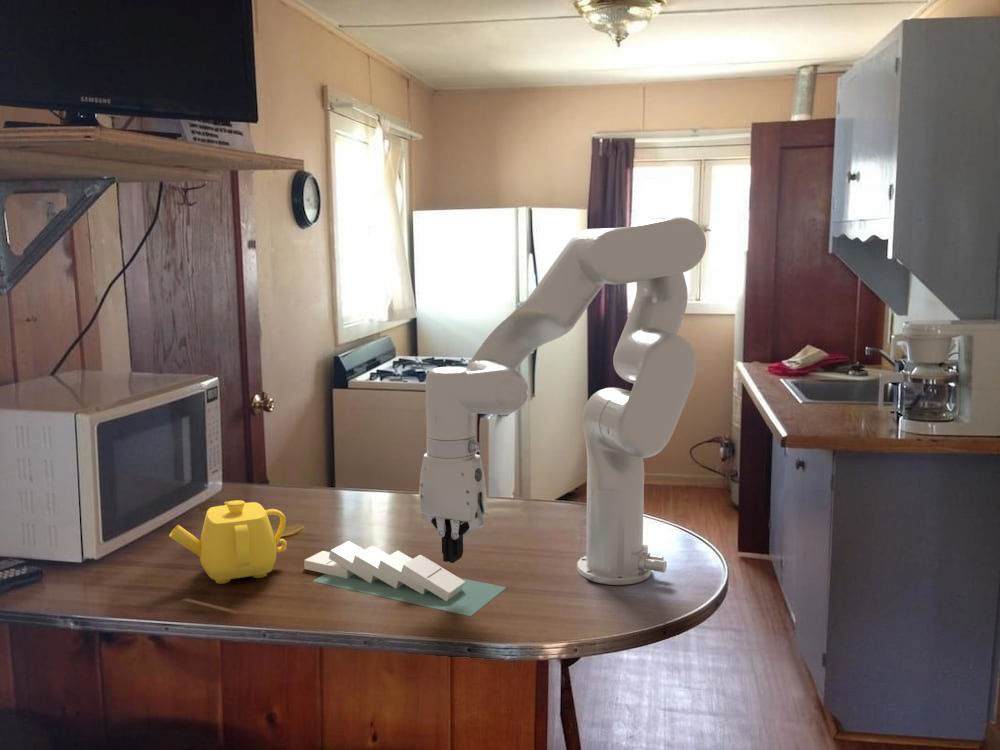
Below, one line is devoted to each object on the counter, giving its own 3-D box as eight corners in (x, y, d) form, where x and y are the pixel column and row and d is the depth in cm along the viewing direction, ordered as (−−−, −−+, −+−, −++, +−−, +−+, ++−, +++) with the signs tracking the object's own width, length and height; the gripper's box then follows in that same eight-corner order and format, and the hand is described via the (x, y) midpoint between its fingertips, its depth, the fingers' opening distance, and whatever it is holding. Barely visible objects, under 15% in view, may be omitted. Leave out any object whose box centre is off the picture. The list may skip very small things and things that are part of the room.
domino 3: (415, 569, 142) (372, 545, 146) (398, 580, 138) (354, 554, 141) (412, 578, 143) (370, 553, 146) (396, 589, 138) (352, 563, 142)
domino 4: (441, 575, 140) (397, 550, 143) (425, 586, 136) (380, 560, 139) (439, 583, 141) (395, 558, 144) (422, 594, 136) (378, 568, 140)
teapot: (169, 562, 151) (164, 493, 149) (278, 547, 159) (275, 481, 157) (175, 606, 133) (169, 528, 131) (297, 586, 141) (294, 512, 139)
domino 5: (465, 581, 137) (420, 554, 141) (449, 592, 133) (403, 564, 136) (462, 589, 138) (417, 562, 141) (446, 601, 134) (400, 573, 137)
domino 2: (390, 564, 145) (348, 540, 148) (373, 574, 140) (330, 550, 144) (388, 573, 145) (346, 548, 149) (370, 583, 141) (328, 558, 144)
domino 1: (364, 559, 147) (322, 550, 151) (346, 569, 143) (304, 559, 147) (364, 568, 147) (323, 559, 151) (346, 578, 143) (304, 569, 147)
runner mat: (506, 589, 139) (506, 587, 139) (470, 618, 128) (470, 616, 128) (355, 559, 152) (355, 557, 152) (312, 583, 142) (312, 581, 142)
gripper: (504, 446, 133) (505, 559, 136) (423, 437, 139) (425, 544, 142) (481, 457, 126) (483, 576, 129) (397, 447, 133) (399, 559, 136)
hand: (452, 559), depth 136 cm, fingers closed
